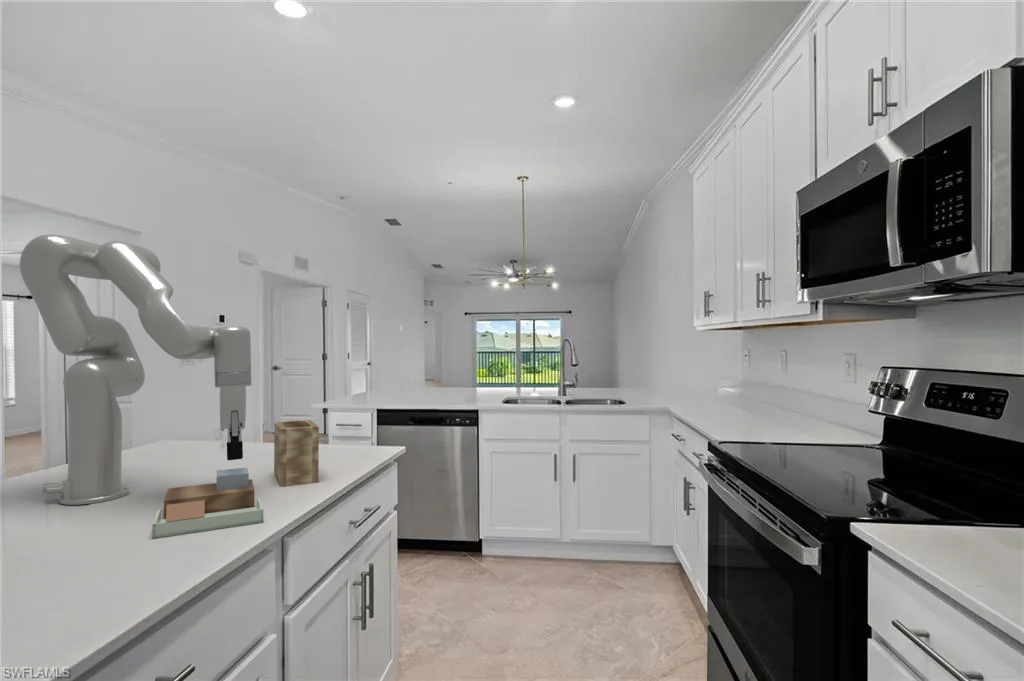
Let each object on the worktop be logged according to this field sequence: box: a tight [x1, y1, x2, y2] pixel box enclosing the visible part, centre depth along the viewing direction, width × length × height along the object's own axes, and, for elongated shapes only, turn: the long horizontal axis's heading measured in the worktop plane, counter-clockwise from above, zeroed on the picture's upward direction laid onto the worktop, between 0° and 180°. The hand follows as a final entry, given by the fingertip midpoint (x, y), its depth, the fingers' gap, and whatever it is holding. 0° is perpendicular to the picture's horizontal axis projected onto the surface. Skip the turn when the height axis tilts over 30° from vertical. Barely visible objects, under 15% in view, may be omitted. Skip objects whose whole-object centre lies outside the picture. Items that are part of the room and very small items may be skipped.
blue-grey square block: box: [216, 467, 250, 491], centre depth 114 cm, size 6×6×3 cm
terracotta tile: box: [166, 500, 205, 522], centre depth 99 cm, size 6×6×3 cm
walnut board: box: [163, 478, 255, 519], centre depth 111 cm, size 16×10×4 cm, turn 120°
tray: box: [151, 496, 264, 539], centre depth 102 cm, size 18×10×2 cm, turn 120°
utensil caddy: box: [273, 419, 320, 488], centre depth 136 cm, size 9×14×14 cm, turn 30°
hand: (234, 458), depth 121 cm, fingers closed
